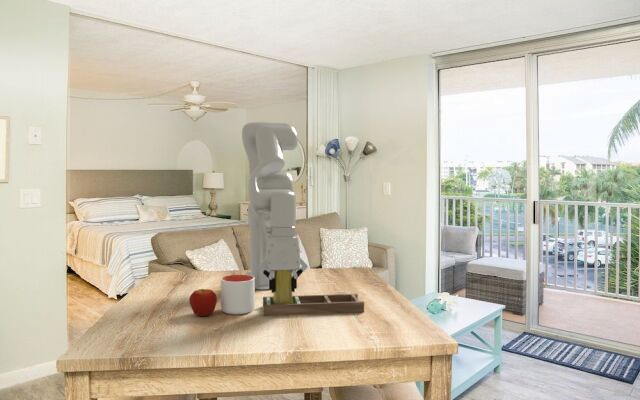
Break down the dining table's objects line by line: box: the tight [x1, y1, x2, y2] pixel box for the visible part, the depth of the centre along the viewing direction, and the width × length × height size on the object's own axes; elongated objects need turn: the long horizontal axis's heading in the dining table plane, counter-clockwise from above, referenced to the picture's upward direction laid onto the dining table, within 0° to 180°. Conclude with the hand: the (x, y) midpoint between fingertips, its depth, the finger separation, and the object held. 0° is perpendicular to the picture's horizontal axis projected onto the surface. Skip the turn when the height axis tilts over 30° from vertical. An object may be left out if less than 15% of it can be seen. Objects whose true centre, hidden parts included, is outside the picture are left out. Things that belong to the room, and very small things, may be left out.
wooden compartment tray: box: [262, 293, 365, 317], centre depth 143 cm, size 10×30×3 cm, turn 98°
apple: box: [189, 288, 218, 317], centre depth 137 cm, size 8×8×8 cm
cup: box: [220, 274, 256, 315], centre depth 141 cm, size 10×10×10 cm
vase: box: [272, 263, 293, 305], centre depth 142 cm, size 6×6×14 cm
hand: (282, 290), depth 142 cm, fingers closed on vase, 5 cm apart
